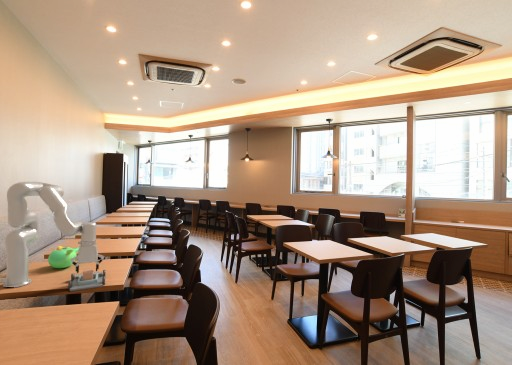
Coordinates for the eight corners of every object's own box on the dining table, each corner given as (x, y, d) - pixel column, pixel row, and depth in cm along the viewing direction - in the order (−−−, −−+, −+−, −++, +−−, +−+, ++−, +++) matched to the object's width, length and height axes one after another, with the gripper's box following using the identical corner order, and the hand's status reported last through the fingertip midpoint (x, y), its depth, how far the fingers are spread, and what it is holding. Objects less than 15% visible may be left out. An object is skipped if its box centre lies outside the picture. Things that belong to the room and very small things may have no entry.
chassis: (67, 291, 150) (67, 283, 150) (72, 278, 169) (72, 271, 168) (104, 286, 159) (105, 278, 158) (105, 274, 177) (105, 268, 177)
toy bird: (54, 264, 196) (54, 243, 196) (81, 262, 201) (81, 242, 201) (43, 272, 179) (43, 250, 179) (73, 270, 184) (73, 248, 184)
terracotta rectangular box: (82, 283, 159) (82, 273, 159) (83, 279, 165) (83, 269, 165) (92, 282, 162) (92, 272, 161) (93, 278, 168) (93, 268, 168)
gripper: (70, 245, 156) (69, 275, 156) (104, 243, 164) (103, 271, 164) (71, 242, 163) (70, 271, 163) (105, 240, 171) (103, 268, 171)
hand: (87, 271), depth 163 cm, fingers open, 9 cm apart
